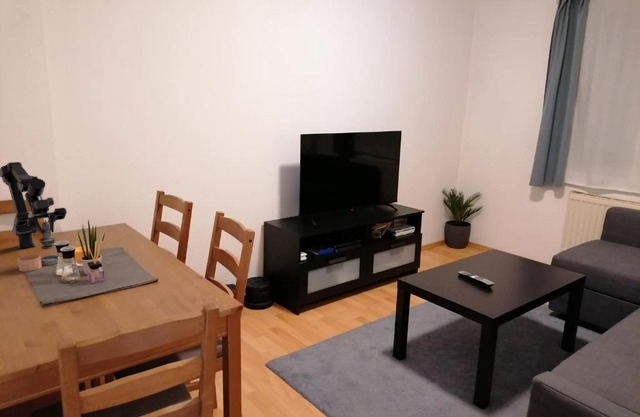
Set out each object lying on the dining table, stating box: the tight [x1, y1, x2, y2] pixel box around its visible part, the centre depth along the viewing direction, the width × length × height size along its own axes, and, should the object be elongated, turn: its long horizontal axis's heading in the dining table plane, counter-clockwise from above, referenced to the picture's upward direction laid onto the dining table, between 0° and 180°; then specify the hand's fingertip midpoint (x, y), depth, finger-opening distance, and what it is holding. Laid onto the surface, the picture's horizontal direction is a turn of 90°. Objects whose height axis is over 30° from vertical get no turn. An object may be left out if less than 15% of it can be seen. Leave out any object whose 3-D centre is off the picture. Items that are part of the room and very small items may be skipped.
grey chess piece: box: [39, 219, 56, 250], centre depth 192 cm, size 6×6×12 cm
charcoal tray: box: [41, 254, 58, 266], centre depth 195 cm, size 8×8×2 cm
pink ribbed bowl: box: [17, 254, 43, 272], centre depth 187 cm, size 8×8×4 cm
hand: (47, 232), depth 191 cm, fingers closed on grey chess piece, 4 cm apart
